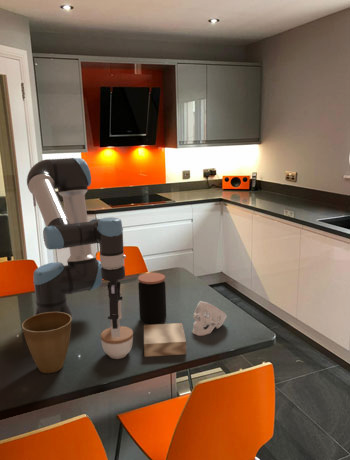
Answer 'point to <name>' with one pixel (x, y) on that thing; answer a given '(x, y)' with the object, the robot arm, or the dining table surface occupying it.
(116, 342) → the lidded jar
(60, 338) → the plant pot
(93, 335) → the dining table surface
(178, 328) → the beech block
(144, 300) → the coffee jar
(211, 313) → the skull bowl
